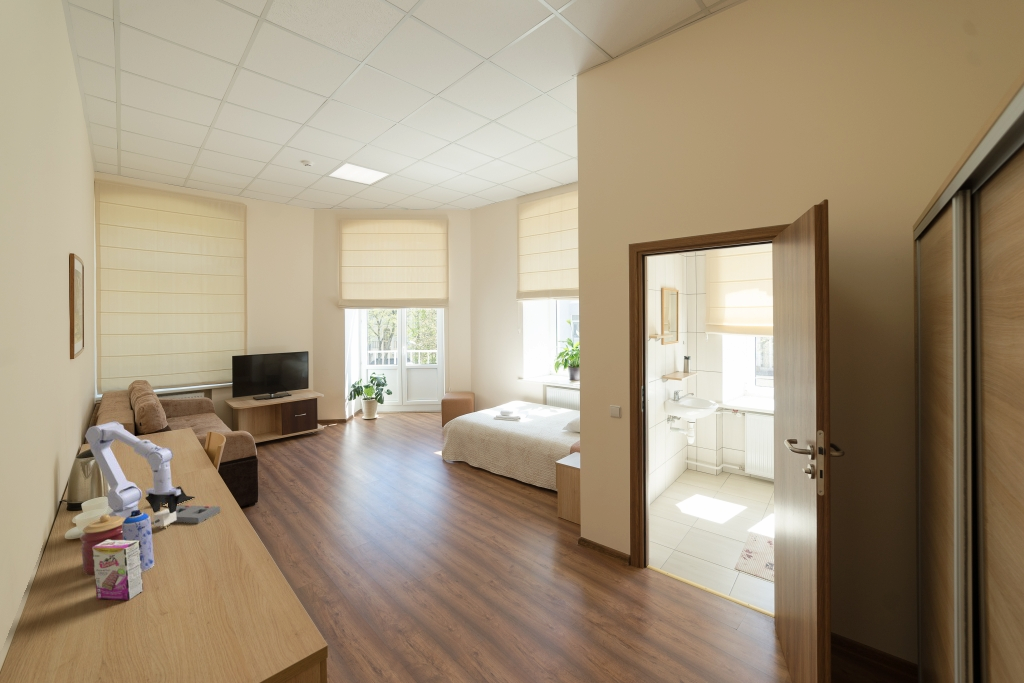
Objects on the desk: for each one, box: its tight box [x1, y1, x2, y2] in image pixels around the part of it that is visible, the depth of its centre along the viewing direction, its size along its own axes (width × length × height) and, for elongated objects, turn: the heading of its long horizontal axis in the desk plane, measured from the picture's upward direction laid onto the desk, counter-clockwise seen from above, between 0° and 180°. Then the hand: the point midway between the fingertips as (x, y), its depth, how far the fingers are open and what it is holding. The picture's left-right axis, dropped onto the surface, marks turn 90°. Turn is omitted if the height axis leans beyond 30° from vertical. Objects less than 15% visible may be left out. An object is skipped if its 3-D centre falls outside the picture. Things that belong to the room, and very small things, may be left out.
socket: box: [173, 504, 221, 524], centre depth 193 cm, size 11×20×3 cm, turn 80°
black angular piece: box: [160, 486, 196, 506], centre depth 210 cm, size 12×7×10 cm
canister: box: [79, 513, 126, 575], centre depth 155 cm, size 13×13×18 cm
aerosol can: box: [122, 509, 156, 573], centre depth 152 cm, size 8×8×20 cm
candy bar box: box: [92, 540, 144, 601], centre depth 136 cm, size 11×5×16 cm, turn 84°
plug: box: [152, 508, 177, 529], centre depth 182 cm, size 7×5×6 cm
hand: (164, 511), depth 183 cm, fingers open, 7 cm apart
